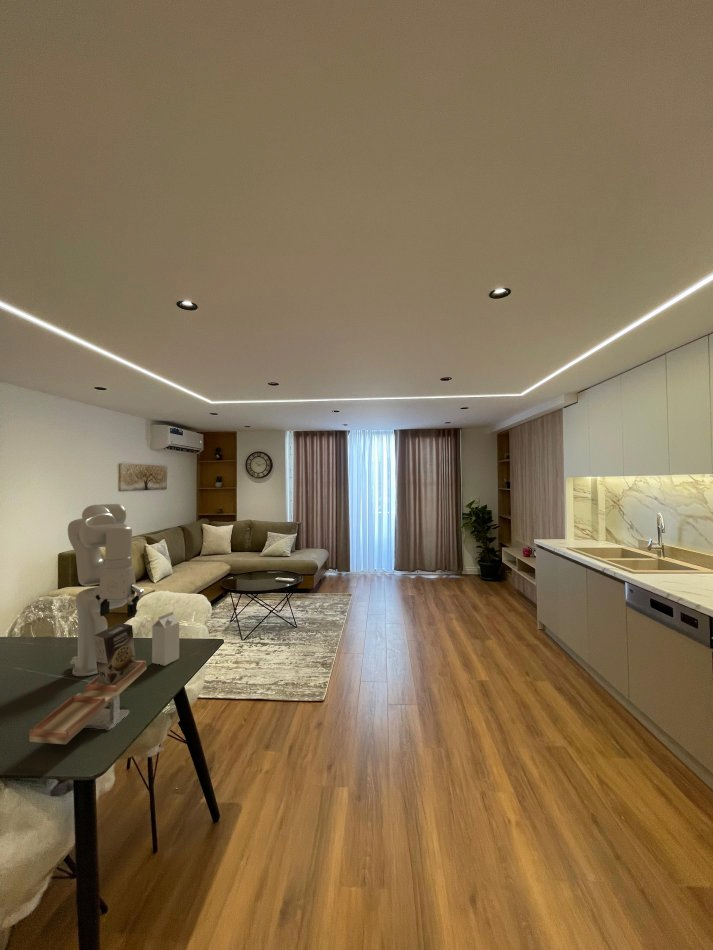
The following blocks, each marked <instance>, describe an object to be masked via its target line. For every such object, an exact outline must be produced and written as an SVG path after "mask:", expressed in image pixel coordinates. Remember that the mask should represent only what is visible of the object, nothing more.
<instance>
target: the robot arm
mask: <svg viewBox="0 0 713 950" xmlns="http://www.w3.org/2000/svg"><path fill="white" fill-rule="evenodd" d="M126 519H127V511H126V509H125V507H124V506H123V505H122V504H119V503H108V504H107V503H104V504H103V503H102V504H92V505H89V506H87V507H86V508H84V509H83V511H82V514H81V518H77V519H73V520H71V521H70V522H69V523H68V525H67V535H68V539H69V543H70V545H71V547H72V548H73V550H74V554H75V558H76V569H77V578H78V582H79V584H80V585H81V586H85V587H86V586H95V585H99V586H95V587H90V588H86V589H82V590H81V591H79V592H78V593H77V595H76V596H75V602H74V603H75V608H76V615H77V656H73V657H72V659H71V660H70V661H69V664H70V665H74V667H73V669H72V675H73V676H76V677H87V676H93V675H96V674H97V675H98V673H97V662H96V652H95V641H94V635H96V634H98V633H100V632H102V631H104V630H106V629H108V620H107V619H106V617H105V615H108V614H109V613H110V610H113V609H117V608H121V607H123V606H125V605H126V604H127V603H128V604H127V605H126V606H127V607H126V608H127V611H126V612H127V613H126V617H128V618H130V617H133V616H135V615H136V614H137V603H138V602H139V600H141V598H142V596H143V593H144V589H143V588H140V587H139V586H138V585H136V575H135V568H134V566H132V565H133V563H132V562H133V561H132V560H133V529H132V527H131V526H129V525H128V524H126V523H125V522H126ZM104 547H105V552H104V553H105V554H104V555H105V556H104V557H105V559H103V556H102V549H101V548H104Z"/></svg>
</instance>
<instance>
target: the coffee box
mask: <svg viewBox="0 0 713 950" xmlns="http://www.w3.org/2000/svg"><path fill="white" fill-rule="evenodd" d="M133 629H134V628H133V625H131V624H129V623H124V622H123V623H122V622H119V623H118V622H117V624H114V625H112V626H110V627H107V629H106V630H104V631H102V632H100V633H98V634H96V635H94V641H95V652H96V662H97V676H98V682H100V683H103V684H106V685H113V684H115V683H117V682H118V681H120V680H121V679H123V678H125V677H126V676H127V675H128V674H129V673H130V672H131V671H133V670H134V669H135V668H136V661H135V660H136V653H135V652H136V651H135V642H134V641H135V640H134V631H133Z"/></svg>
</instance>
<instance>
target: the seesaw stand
mask: <svg viewBox="0 0 713 950" xmlns="http://www.w3.org/2000/svg"><path fill="white" fill-rule="evenodd" d="M81 693H82V692H78V693H77V694H76V695H77V696H79V695H80V694H81ZM120 699H121V698H120V694H119V695H116V696H114V697H113V698H111V699H110V705H109V708H106V707H105V708H104V709H103V710H102V711H101V712H100V713H99V714H98V715H97V716H95V717H94V718H93V719H92V720H91V721H90V722H89V723H88V724H87V725H86V726H85V727H84V728H97V729H106V730H105V731H111V730H112V729H113V728H114V727H116V726H117V725H118V724H119V723H120V722H121V721H123V720H124V719H125V718H127V716H129V715H130V709H123V708H122V709H120V703H121V701H120ZM128 714H129V715H128ZM124 717H125V718H124ZM123 718H124V719H123ZM122 719H123V720H122ZM117 723H118V724H117ZM116 724H117V725H116ZM111 728H112V729H111ZM97 729H96V730H97ZM110 729H111V730H110Z"/></svg>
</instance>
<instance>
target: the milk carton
mask: <svg viewBox="0 0 713 950" xmlns="http://www.w3.org/2000/svg"><path fill="white" fill-rule="evenodd" d="M151 628H152V637H151V639H152V640H151V641H152V645H151V646H152V648H151V652H152V653H151V662H152V664H155V665H159V664H160V666H163V667H164V666H165V667H166V666H167V665H169V664H171V663H173V662H175V661H178V660H179V659H180V620H178V619H177V617H176V616H175V615H174V611H170V612H168V613H166V614H162V615H161V616H158V619H157V620H156V621H155V622H154V623H153V624H152V627H151Z"/></svg>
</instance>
